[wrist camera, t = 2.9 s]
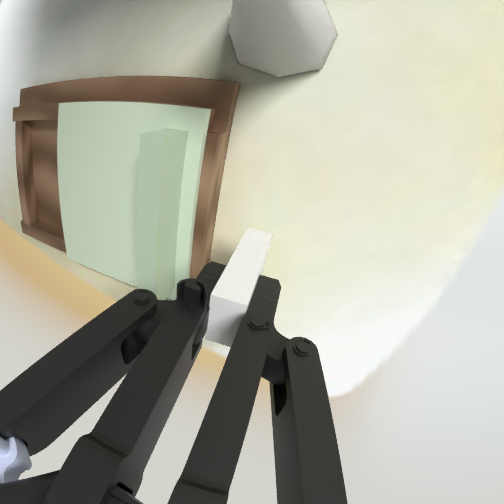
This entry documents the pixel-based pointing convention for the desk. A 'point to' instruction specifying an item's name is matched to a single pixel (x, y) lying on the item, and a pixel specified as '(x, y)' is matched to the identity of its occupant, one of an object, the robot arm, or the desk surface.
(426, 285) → the desk surface
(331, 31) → the flask
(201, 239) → the tray
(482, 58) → the desk surface
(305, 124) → the desk surface
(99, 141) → the cover
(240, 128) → the desk surface
